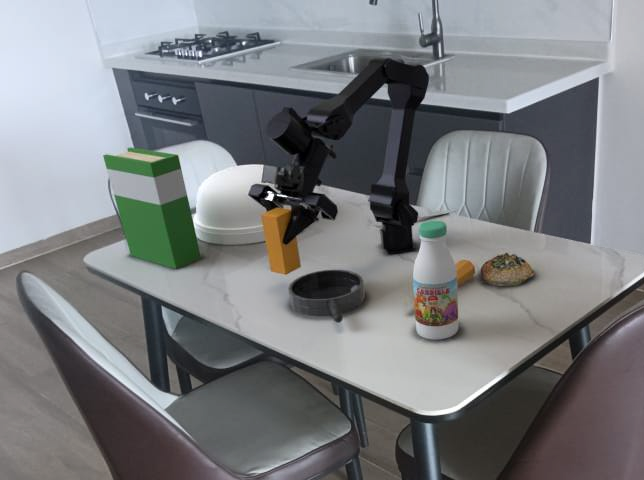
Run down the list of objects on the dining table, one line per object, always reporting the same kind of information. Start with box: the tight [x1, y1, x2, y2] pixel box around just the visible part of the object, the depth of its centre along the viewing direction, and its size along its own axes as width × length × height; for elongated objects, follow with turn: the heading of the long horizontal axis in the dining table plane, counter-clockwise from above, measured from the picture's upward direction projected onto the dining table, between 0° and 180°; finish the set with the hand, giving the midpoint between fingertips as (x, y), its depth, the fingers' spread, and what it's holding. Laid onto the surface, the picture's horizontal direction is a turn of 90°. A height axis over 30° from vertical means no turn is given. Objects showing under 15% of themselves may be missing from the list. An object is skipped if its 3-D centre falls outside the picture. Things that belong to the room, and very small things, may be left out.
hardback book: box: [102, 147, 202, 270], centre depth 170 cm, size 18×7×24 cm, turn 52°
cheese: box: [261, 207, 302, 276], centre depth 141 cm, size 4×4×12 cm
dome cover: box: [192, 163, 291, 246], centre depth 189 cm, size 32×30×14 cm
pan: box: [288, 269, 366, 317], centre depth 146 cm, size 15×15×4 cm
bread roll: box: [480, 252, 535, 287], centre depth 150 cm, size 11×11×5 cm
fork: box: [373, 208, 458, 229], centre depth 184 cm, size 3×24×2 cm, turn 122°
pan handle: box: [328, 299, 344, 324], centre depth 137 cm, size 9×2×2 cm, turn 13°
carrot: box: [455, 259, 476, 288], centre depth 146 cm, size 20×4×4 cm, turn 142°
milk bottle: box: [412, 220, 459, 340], centre depth 128 cm, size 8×8×20 cm
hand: (276, 242), depth 140 cm, fingers closed on cheese, 4 cm apart
